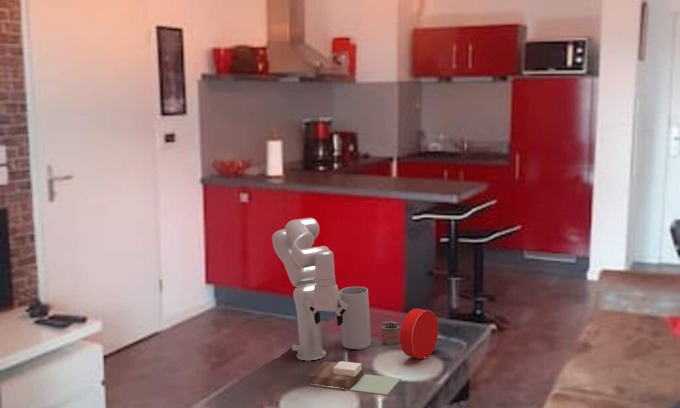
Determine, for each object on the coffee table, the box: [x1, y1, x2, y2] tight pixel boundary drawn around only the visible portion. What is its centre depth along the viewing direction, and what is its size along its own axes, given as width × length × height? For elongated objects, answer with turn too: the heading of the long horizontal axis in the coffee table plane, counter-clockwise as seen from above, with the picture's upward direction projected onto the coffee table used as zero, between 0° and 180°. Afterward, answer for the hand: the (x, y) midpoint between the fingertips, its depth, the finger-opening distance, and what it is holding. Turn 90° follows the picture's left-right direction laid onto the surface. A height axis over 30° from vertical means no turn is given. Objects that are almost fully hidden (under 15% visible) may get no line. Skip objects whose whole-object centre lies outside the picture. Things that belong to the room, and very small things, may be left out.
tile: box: [333, 360, 363, 377], centre depth 285 cm, size 9×7×2 cm
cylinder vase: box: [339, 286, 372, 351], centre depth 322 cm, size 12×12×25 cm
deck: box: [308, 360, 364, 391], centre depth 288 cm, size 16×15×4 cm
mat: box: [349, 373, 402, 396], centre depth 281 cm, size 15×15×1 cm
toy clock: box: [399, 308, 439, 360], centre depth 305 cm, size 20×6×20 cm, turn 141°
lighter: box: [381, 320, 401, 346], centre depth 323 cm, size 8×3×10 cm, turn 84°
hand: (328, 323), depth 289 cm, fingers open, 9 cm apart
